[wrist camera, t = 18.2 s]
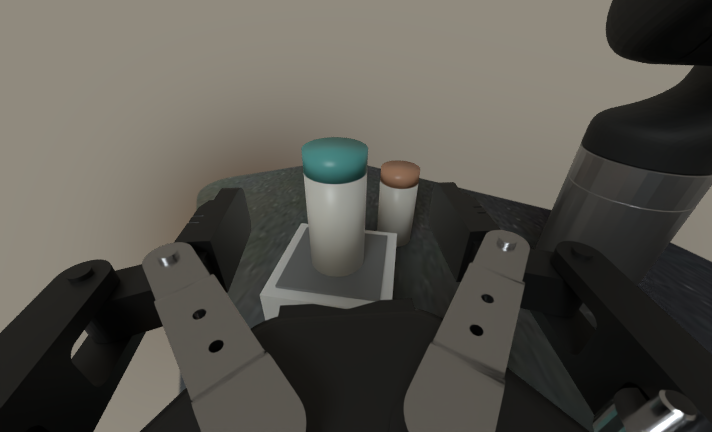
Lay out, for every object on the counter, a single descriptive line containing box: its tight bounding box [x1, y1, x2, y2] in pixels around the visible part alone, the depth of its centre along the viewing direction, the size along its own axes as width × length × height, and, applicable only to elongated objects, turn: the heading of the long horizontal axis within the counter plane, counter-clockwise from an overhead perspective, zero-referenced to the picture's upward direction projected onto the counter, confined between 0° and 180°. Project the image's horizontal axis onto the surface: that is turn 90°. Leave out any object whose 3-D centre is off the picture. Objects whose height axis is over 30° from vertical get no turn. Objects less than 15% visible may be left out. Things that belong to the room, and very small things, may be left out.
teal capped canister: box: [302, 137, 368, 277], centre depth 25 cm, size 5×5×11 cm
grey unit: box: [260, 223, 397, 320], centre depth 30 cm, size 11×11×7 cm
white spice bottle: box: [377, 161, 420, 247], centre depth 41 cm, size 5×5×11 cm
